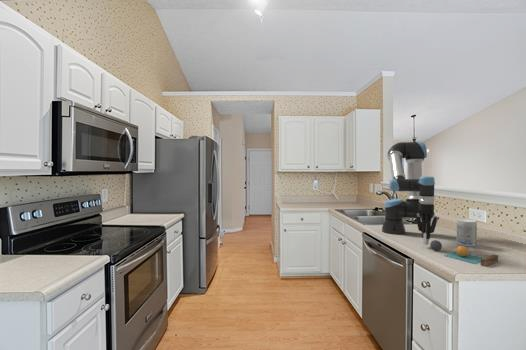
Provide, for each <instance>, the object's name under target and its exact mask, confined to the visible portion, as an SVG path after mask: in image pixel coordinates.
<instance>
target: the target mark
mask: <svg viewBox="0 0 526 350" xmlns="http://www.w3.org/2000/svg"><path fill="white" fill-rule="evenodd" d="M443 257H446V258H447V257H448V258H449V259H454V260H459V261H461V262H466V263H470V264H473V265H476V264H479V263H481V259H482V258H485V257H483V256H480V255H479V256H478V255H474V254H472V253H469V254H468V255H467V256H466V257H461V256H459V255H458V254H457V253H456V251H453V252H451V253H450V252H449V253H447V254H444V255H443Z"/></svg>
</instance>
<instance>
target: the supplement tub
mask: <svg viewBox="0 0 526 350" xmlns="http://www.w3.org/2000/svg"><path fill="white" fill-rule="evenodd" d="M477 236H478V223H477V220H475V219H470V218H469V219H468V218H457V219H456V244H457V245H458V246H465V247H468V248H470V247H472V248H473V247H476V246H477V245H478V244H477V241H478V239H477V238H478V237H477Z"/></svg>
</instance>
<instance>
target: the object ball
mask: <svg viewBox="0 0 526 350" xmlns="http://www.w3.org/2000/svg"><path fill="white" fill-rule="evenodd" d="M455 252H456V253H457V254H458V255H459V256H461V257H466V256H467V255H468V254H470V251H469V248H467V246H462V245H458V246H457V247H456V248H455Z"/></svg>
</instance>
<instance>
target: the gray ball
mask: <svg viewBox="0 0 526 350" xmlns="http://www.w3.org/2000/svg"><path fill="white" fill-rule="evenodd" d="M429 246H430V248H431V249H432V250H434V251H440V250H441V249H442V248H443V244H442V242H440V241H439V240H436V239H435V240H431V241H430V243H429Z"/></svg>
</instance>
